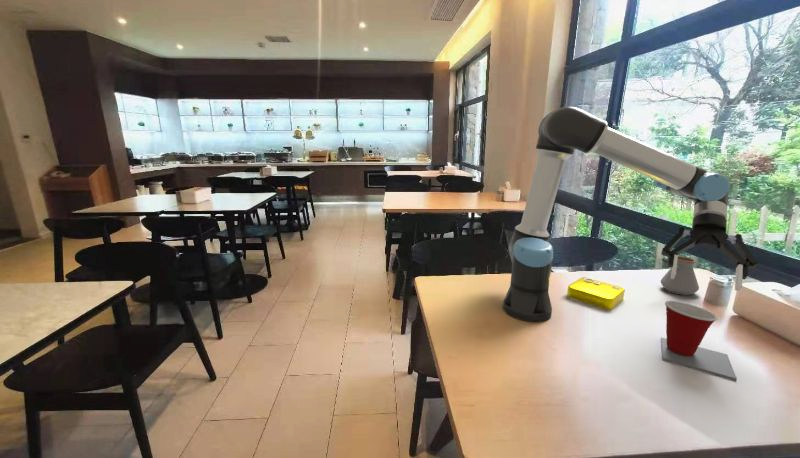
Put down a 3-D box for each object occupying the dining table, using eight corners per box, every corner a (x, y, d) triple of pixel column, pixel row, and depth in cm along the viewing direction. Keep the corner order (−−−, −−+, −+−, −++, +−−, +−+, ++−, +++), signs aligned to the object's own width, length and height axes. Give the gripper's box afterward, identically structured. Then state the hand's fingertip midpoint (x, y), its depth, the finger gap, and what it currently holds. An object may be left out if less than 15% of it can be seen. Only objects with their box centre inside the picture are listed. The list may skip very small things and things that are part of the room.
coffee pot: (669, 283, 140) (677, 247, 136) (703, 294, 130) (713, 256, 126) (637, 292, 131) (644, 254, 127) (671, 305, 121) (680, 264, 117)
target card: (662, 359, 89) (662, 357, 89) (660, 339, 99) (661, 337, 99) (736, 380, 82) (736, 378, 82) (726, 356, 91) (727, 354, 91)
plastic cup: (718, 365, 86) (729, 320, 84) (668, 358, 88) (678, 314, 86) (692, 343, 97) (702, 302, 94) (648, 337, 99) (657, 297, 96)
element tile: (564, 297, 127) (566, 285, 126) (581, 286, 137) (582, 275, 135) (610, 312, 116) (612, 298, 115) (624, 299, 126) (626, 287, 125)
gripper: (763, 232, 99) (763, 300, 90) (655, 220, 113) (647, 278, 104) (774, 217, 93) (775, 287, 85) (659, 206, 107) (650, 266, 99)
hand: (704, 282), depth 95 cm, fingers open, 13 cm apart
